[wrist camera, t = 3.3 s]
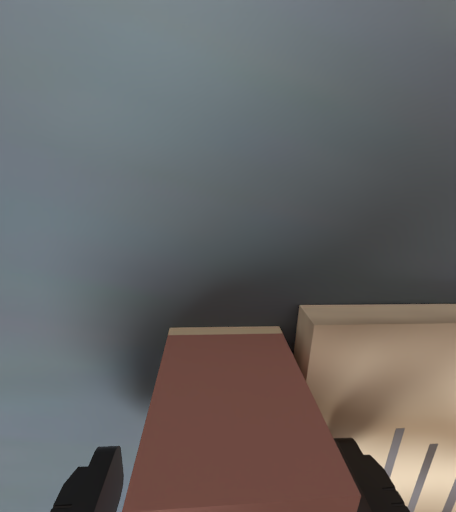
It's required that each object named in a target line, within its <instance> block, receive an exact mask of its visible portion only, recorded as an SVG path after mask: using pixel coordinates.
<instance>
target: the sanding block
mask: <svg viewBox="0 0 456 512" xmlns="http://www.w3.org/2000/svg"><path fill="white" fill-rule="evenodd" d="M360 498H361V494H360V492H359V490H358V488H357V486H356V484H355V482H354V480H353V478H352V476H351V474H350V472H349V469H348V467H347V465H346V463H345V461H344V459H343V457H342V455H341V453H340V451H339V449H338V447H337V445H336V443H335V441H334V439H333V436H332V434H331V432H330V430H329V428H328V426H327V424H326V422H325V420H324V418H323V416H322V414H321V412H320V410H319V408H318V405H317V403H316V401H315V399H314V397H313V395H312V393H311V391H310V389H309V387H308V385H307V383H306V381H305V379H304V377H303V374H302V372H301V370H300V368H299V366H298V364H297V362H296V360H295V358H294V356H293V354H292V352H291V350H290V348H289V346H288V343H287V341H286V339H285V337H284V335H283V333H282V331H281V329H280V327H279V326H259V327H181V328H170V329H169V333H168V337H167V341H166V344H165V348H164V352H163V356H162V360H161V364H160V367H159V371H158V375H157V379H156V383H155V387H154V391H153V394H152V398H151V402H150V406H149V410H148V414H147V418H146V421H145V425H144V429H143V433H142V437H141V441H140V445H139V448H138V452H137V456H136V460H135V464H134V468H133V472H132V475H131V479H130V483H129V487H128V491H127V495H126V499H125V502H124V506H123V510H122V512H357V509H358V506H359V502H360Z"/></svg>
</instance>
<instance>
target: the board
mask: <svg viewBox="0 0 456 512" xmlns="http://www.w3.org/2000/svg"><path fill="white" fill-rule="evenodd" d="M293 356H294V358H295V360H296V362H297V364H298V366H299V368H300V370H301V372H302V374H303V377H304V379H305V381H306V383H307V385H308V387H309V389H310V391H311V393H312V395H313V397H314V399H315V401H316V403H317V405H318V408H319V410H320V412H321V414H322V416H323V418H324V420H325V422H326V424H327V426H328V428H329V430H330V432H331V434H332V436H333V438H353V439H354V440H355V441H356V443H357V444H358V446H359V448H360V450H361V452H362V453H363V455H371V456H372V457H373V458H374V459H375V460H376V461H377V462H378V463H379V464H380V465H381V466H382V467H383V468H384V469H385V471H386V473H387V474H388V476H389V478H390V479H391V481H392V483H393V484H394V486H395V489H396V491H398V492H399V494H400V496H401V497H402V499H403V501H404V503H405V506H407V507H408V509H409V511H410V512H456V304H365V305H299V314H298V322H297V330H296V338H295V346H294V354H293Z"/></svg>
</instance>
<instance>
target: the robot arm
mask: <svg viewBox="0 0 456 512" xmlns="http://www.w3.org/2000/svg"><path fill="white" fill-rule="evenodd" d="M333 439H334V441H335V443H336V445H337V447H338V449H339V451H340V453H341V455H342V457H343V459H344V461H345V463H346V465H347V467H348V469H349V472H350V474H351V476H352V478H353V480H354V482H355V484H356V486H357V488H358V490H359V492H360V494H361V498H360V502H359V506H358V509H357V512H410V511H409V509H408V507H407V506H405V503H404V501H403V499H402V497H401V496H400V494H399V492H398V491H396V489H395V486H394V484H393V483H392V481H391V479H390V478H389V476H388V474H387V473H386V471H385V469H384V468H383V467H382V466H381V465H380V464H379V463H378V462H377V461H376V460H375V459H374V458H373V457H372V456H371V455H363V453H362V452H361V450H360V448H359V446H358V444H357V443H356V441H355V440H354V439H353V438H333ZM123 478H124V475H123V465H122V456H121V448H120V446H108V447H98V448H97V449H96V451H95V452H94V455H93V457H92V459H91V462H90V464H89V466H88V467H78V468H77V469H76V470H75V471H74V473H73V474H72V475H71V476H70V477H69V479H68V480H67V481H66V482H65V483H64V485H63V487H62V489H61V491H60V493H59V495H58V497H57V499H56V501H55V503H54V505H53V509H51V511H50V512H116V511H117V507H118V504H119V500H120V497H121V492H122V487H123Z"/></svg>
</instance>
